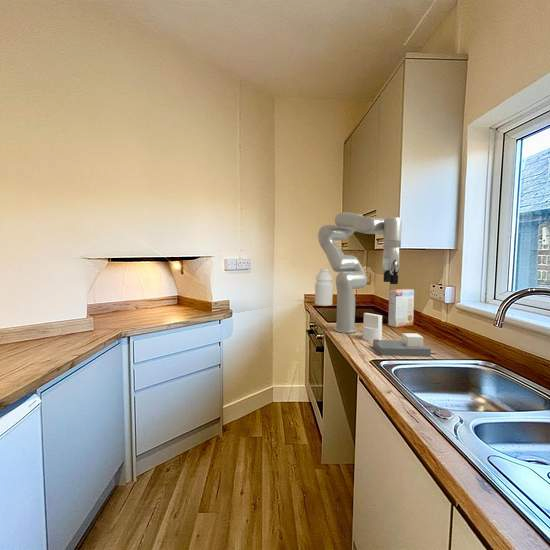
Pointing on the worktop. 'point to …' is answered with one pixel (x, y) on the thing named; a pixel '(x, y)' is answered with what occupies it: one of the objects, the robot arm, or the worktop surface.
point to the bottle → (324, 288)
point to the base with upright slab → (372, 327)
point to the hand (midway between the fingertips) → (390, 282)
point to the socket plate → (399, 348)
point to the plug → (412, 340)
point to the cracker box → (401, 307)
